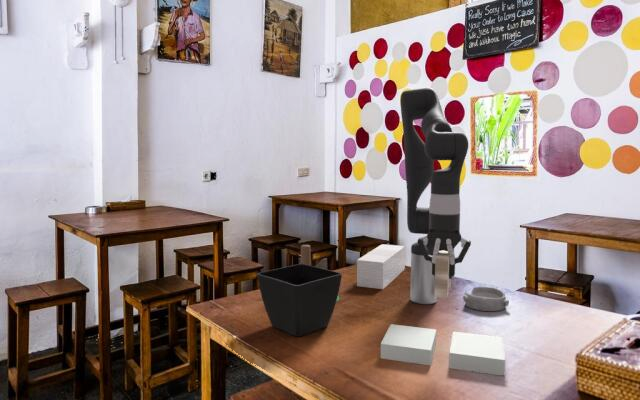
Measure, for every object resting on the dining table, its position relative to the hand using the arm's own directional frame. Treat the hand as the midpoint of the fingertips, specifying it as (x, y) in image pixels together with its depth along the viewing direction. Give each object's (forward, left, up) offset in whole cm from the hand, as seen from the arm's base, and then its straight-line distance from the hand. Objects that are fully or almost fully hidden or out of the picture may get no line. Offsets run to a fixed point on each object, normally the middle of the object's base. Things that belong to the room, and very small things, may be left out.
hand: (443, 277), depth 121 cm
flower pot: (-7, -43, -21) cm, 48 cm away
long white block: (-68, -30, -22) cm, 77 cm away
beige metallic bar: (0, 0, -4) cm, 4 cm away
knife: (-28, -40, -22) cm, 53 cm away
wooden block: (-38, -50, -21) cm, 66 cm away
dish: (-44, +11, -22) cm, 50 cm away
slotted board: (0, 0, -21) cm, 21 cm away
